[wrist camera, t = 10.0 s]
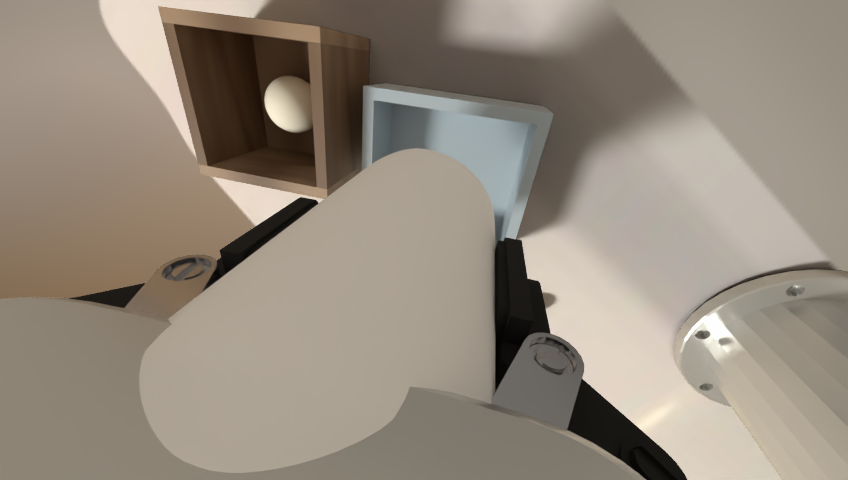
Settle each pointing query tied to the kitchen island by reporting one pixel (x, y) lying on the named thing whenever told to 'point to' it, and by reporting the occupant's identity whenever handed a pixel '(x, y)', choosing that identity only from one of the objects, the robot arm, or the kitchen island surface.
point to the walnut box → (245, 90)
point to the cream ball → (290, 103)
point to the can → (333, 323)
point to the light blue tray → (462, 139)
